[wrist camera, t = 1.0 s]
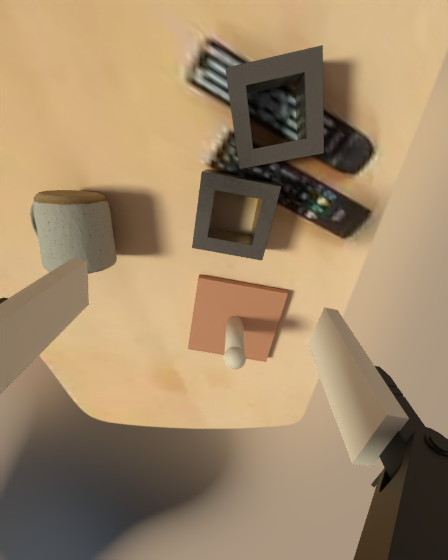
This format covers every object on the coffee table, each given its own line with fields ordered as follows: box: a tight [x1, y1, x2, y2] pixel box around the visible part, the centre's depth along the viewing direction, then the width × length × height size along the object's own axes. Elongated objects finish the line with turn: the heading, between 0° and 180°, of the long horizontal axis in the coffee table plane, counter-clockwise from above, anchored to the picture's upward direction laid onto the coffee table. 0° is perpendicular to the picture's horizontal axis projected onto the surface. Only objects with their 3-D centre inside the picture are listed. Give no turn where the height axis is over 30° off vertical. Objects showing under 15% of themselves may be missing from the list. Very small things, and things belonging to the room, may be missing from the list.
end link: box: [192, 170, 281, 260], centre depth 29 cm, size 8×8×4 cm
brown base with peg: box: [188, 275, 288, 369], centre depth 33 cm, size 12×12×9 cm
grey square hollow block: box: [226, 45, 324, 169], centre depth 25 cm, size 8×8×4 cm
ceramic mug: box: [30, 190, 117, 274], centre depth 29 cm, size 11×8×8 cm
